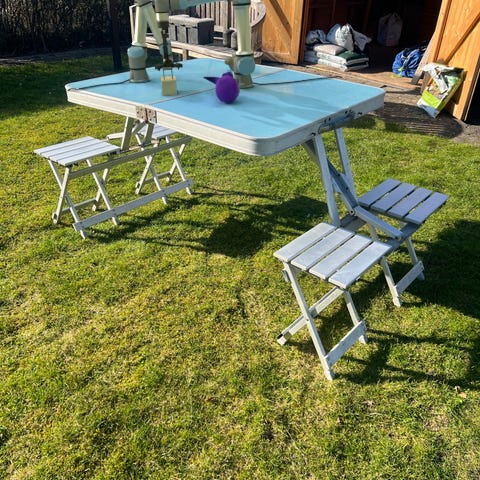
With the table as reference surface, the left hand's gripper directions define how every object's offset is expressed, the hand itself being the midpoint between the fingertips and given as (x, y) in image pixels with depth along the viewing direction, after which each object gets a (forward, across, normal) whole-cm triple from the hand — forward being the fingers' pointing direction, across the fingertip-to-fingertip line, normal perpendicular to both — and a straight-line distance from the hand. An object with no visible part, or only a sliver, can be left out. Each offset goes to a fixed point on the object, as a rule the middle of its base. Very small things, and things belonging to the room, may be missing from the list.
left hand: (168, 68), depth 320 cm
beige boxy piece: (+28, +1, -2) cm, 28 cm away
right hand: (+32, 0, +12) cm, 34 cm away
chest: (+28, +1, -11) cm, 30 cm away
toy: (+57, -32, -12) cm, 66 cm away
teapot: (-46, -55, -13) cm, 72 cm away
